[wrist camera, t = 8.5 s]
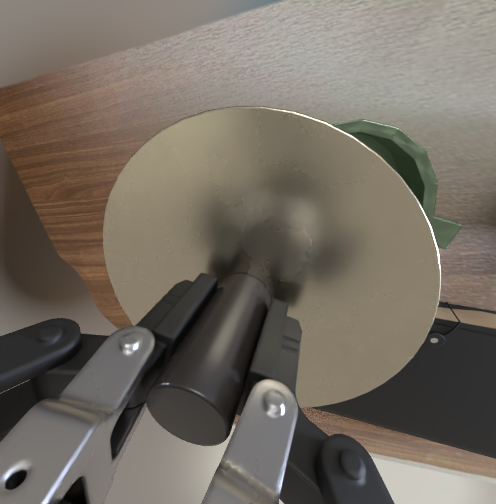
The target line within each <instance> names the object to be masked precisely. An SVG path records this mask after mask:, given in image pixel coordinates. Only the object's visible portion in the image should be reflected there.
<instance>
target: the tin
mask: <svg viewBox="0 0 496 504" xmlns="http://www.w3.org/2000/svg"><path fill="white" fill-rule="evenodd" d="M333 126H335V127H337V128H339V129H341V130H343V131H345V132H347V133H349V134H351V135H353V136H354V137H356V138H357V139H358V140H360V141H361V142H362V143H364V144H365V145H367V146H368V147H369V148H371V149H372V150H374V151H375V152H376V153H378V154H379V155H380V156H381V157H382V158H383V159H384V160H385V161H386V162H387V163H388V164H389V165H390V166H391V167H392V168H393V169H394V170H395V171H396V172H397V173H398V174H399V175H400V176H401V177H402V178H403V180H404V181H405V182H406V184H407V185H408V187H409V188H410V189H411V191H412V192H413V193H414V195H415V196H416V198H417V199H418V200H419V202H420V204H421V206H422V208H423V210H424V212H425V214H426V216H427V218H428V221H429V223H430V225H431V227H432V231H433V234H434V237H435V241H436V244H437V247H440V248H444V249H447V247H448V246H449V244H450V243H451V241H452V240H453V238H454V237H455V235H456V234H457V233H458V231H459V230H460V228H461V227H462V224H460V223H459V222H457V221H454V220H450V219H447V218H443V217H439V216H436V215H434V210H435V202H436V194H437V186H438V182H437V179H436V176H435V174H434V171H433V168H432V166H431V163H430V160H429V158H428V155H427V152H426V151H425V149H423V148H422V147H421V146H420V145H419V144H417V143H416V142H415V141H414V140H413V139H411V138H410V137H409V136H408V135H407V134H406V133H404V132H403V131H402V130H401V129H400V128H397V127H394V126H390V125H385V124H381V123H377V122H373V121H368V120H364V119H359V120H354V121H349V122H343V123H338V124H333Z"/></svg>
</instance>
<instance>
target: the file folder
mask: <svg viewBox="0 0 496 504" xmlns="http://www.w3.org/2000/svg"><path fill="white" fill-rule="evenodd" d="M312 408H315V409H319V410H322V411H326V412H330V413H333V414H337V415H341V416H344V417H348V418H351V419H355V420H359V421H362V422H366V423H369V424H373V425H377V426H380V427H384V428H387V429H391V430H395V431H398V432H402V433H405V434H409V435H413V436H416V437H420V438H423V439H427V440H431V441H434V442H438V443H441V444H445V445H449V446H452V447H456V448H459V449H463V450H467V451H470V452H474V453H477V454H481V455H485V456H488V457H492V458H495V459H496V312H494V311H488V310H482V309H476V308H470V307H464V306H458V305H452V304H448V303H447V302H445V303H441V302H439V303H438V307H437V311H436V314H435V318H434V322H433V324H432V326H431V328H430V330H429V332H428V335H427V337H426V339H425V341H424V342H423V344H422V345H421V347H420V348H419V350H418V351H417V352H416V354H415V355H414V357H413V358H412V359H411V360H410V361H409V362H408V363H407V364H406V365H405V366H404V367H403V368H402V369H401V370H400V371H399V372H398V373H397V374H395V375H394V376H393V377H391V378H390V379H389V380H388V381H386V382H385V383H383V384H381V385H380V386H378V387H376V388H374V389H373V390H371V391H369V392H367V393H365V394H362V395H360V396H357V397H355V398H353V399H349V400H346V401H342V402H339V403H335V404H330V405H324V406H318V407H312Z"/></svg>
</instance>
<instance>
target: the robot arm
mask: <svg viewBox="0 0 496 504" xmlns="http://www.w3.org/2000/svg"><path fill="white" fill-rule="evenodd" d="M218 280H219V279H218V278H217V277H214V276H211V275H208V274H205V273H200V274H199V276H198V277H197V278H196V279H195V280H194V281H193V282H192V281H189V280H187V279H186V280H184V281H181V282H179V283H177V284H175V285H174V286H173V287H172V288H171V289H170V290H169V291H168V293H167V294H165V295H164V297H163V298H162V299H161V300H160V301H159V302H158V303H157V304H156V305H155V306H154V307H153V308H152V309H151V310H150V311H149V312H148V313H147V314H146V315H145V316H144V317H143V318H142V319H141V320H140V321H139V322H138V323H137V324H136V325H135V326H128V327H124V328H121V329H119V330H117V331H115V332H114V333H112V334H111V335H110V336H102V335H91V334H81V333H80V327H79V325H78V324H77V323H76V322H75V321H72V320H70V319H65V318H57V319H50V320H47V321H43V322H41V323H38V324H35V325H32V326H29V327H26V328H23V329H20V330H17V331H15V332H12V333H9V334H6V335H3V336H0V393H1V392H3V391H5V392H3V393H1V394H0V504H104V502H105V500H106V497H107V495H108V493H109V490H110V488H111V485H112V482H113V479H114V475H115V471H116V469H117V466H118V464H119V461H120V459H121V457H122V455H123V453H124V452H125V450H126V447H127V446H128V443H129V441H130V440H131V438H132V436H133V434H134V432H135V430H136V428H137V426H138V424H139V422H140V420H141V417H142V416H143V414H144V412H145V410H146V408H147V404H146V396H147V392H148V390H149V389H150V387H151V386H152V384H153V383H154V381H155V380H156V378H157V377H158V375H159V374H160V372H161V371H162V369H163V368H164V367H165V365H166V364H167V362H168V361H169V359H170V358H171V356H172V355H173V353H174V352H175V350H176V349H177V347H178V346H179V344H180V343H181V341H182V340H183V338H184V337H185V336H186V334H187V333H188V331H189V330H190V328H191V327H192V325H193V324H194V322H195V321H196V319H197V318H198V316H199V315H200V313H201V312H202V310H203V309H204V308H205V306H206V305H207V303H208V302H209V300H210V299H211V297H212V296H213V294H214V293H215V291H216V290H217V286H218ZM288 307H289V303H287V302H284V301H281V300H278V299H275V298H273V297H272V300H271V303H270V306H269V308H268V312H267V315H266V318H265V321H264V324H263V327H262V331H261V334H260V337H259V340H258V343H257V346H256V350H255V353H254V356H253V359H252V362H251V365H250V369H249V372H248V375H247V378H246V381H245V384H244V388H243V393H242V397H241V400H240V403H239V406H238V409H237V413H236V414H237V415H240V418H239V420H238V423H237V425H236V427H235V430H234V432H233V434H232V436H231V439H230V441H229V443H228V446H227V448H226V450H225V453H224V455H223V457H222V460H221V462H220V464H219V466H218V468H217V470H216V472H215V474H214V476H213V479H212V481H211V483H210V485H209V488H208V490H207V492H206V494H205V497H204V499H203V501H202V504H279V499H280V500H281V501H282V502H283V503H284V504H394V502H393V500H392V498H391V496H390V494H389V492H388V490H387V488H386V486H385V484H384V482H383V480H382V478H381V476H380V474H379V472H378V470H377V468H376V466H375V464H374V462H373V460H372V458H371V456H370V455H369V453H368V452H367V451H366V450H365V448H364V447H363V446H362V445H361V444H360V443H359V442H357V441H356V440H355V439H353V438H351V437H349V436H347V435H344V434H334V435H331V436H328V435H327V434H326V433H324V432H323V431H322V430H321V429H319V428H318V427H317V426H316V425H314V424H313V423H312V422H311V421H310V420H309V419H308V418H307V417H306V416H305V415H304V413H303V412H302V410H301V408H300V407H299V404H298V402H297V398H296V381H297V372H298V363H299V354H300V353H299V352H300V345H301V344H300V343H301V337H302V329H301V327H300V324H299V321H298V320H296V319H294V318H291V317H288V316H287V312H288ZM29 379H30V380H29ZM27 380H29V381H27ZM25 381H27V382H25ZM23 382H25V383H23ZM21 383H22V384H21ZM18 384H20V385H18ZM16 385H18V386H16ZM14 386H16V387H14ZM12 387H14V388H12ZM10 388H12V389H10ZM8 389H10V390H8ZM6 390H8V391H6Z"/></svg>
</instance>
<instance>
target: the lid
mask: <svg viewBox="0 0 496 504" xmlns="http://www.w3.org/2000/svg"><path fill="white" fill-rule="evenodd" d="M103 249H104V256H105V263H106V267H107V271H108V275H109V278H110V281H111V284H112V286H113V289H114V292H115V294H116V296H117V298H118V300H119V302H120V304H121V306H122V308H123V310H124V311H125V313H126V315H127V316H128V318H129V319H130V321H131V322H132V324H133V325H134V326H135V325H136V324H137V323H138V322H139V321H140V320H141V319H142V318H143V317H144V316H145V315H146V314H147V313H148V312H149V311H150V310H151V309H152V308H153V307H154V306H155V305H156V304H157V303H158V302H159V301H160V300H161V299H162V298H163V297H164V295H165V294H167V293H168V291H169V290H170V289H171V288H172V287H173V286H174V285H175V284H177V283H179V282H181V281H184V280H186V279H187V280H189V281H192V282H193V281H194V280H195V279H196V278H197V277H198V276H199V274H200V273H205V274H208V275H211V276H214V277H217V278H218V279H219V280H218V286H217V290H216V291H215V293H214V294H213V296H212V297H211V299H210V300H209V302H208V303H207V305H206V306H205V308H204V309H203V310H202V312H201V313H200V315H199V316H198V318H197V319H196V321H195V322H194V324H193V325H192V327H191V328H190V330H189V331H188V333H187V334H186V336H185V337H184V338H183V340H182V341H181V343H180V344H179V346H178V347H177V349H176V350H175V352H174V353H173V355H172V356H171V358H170V359H169V361H168V362H167V364H166V365H165V367H164V368H163V369H162V371H161V372H160V374H159V375H158V377H157V378H156V380H155V381H154V383H153V384H152V386H151V387H150V389H149V390H148V392H147V396H146V404H147V407H148V410H149V412H150V413H151V415H152V416H153V418H154V419H155V420H156V421H157V422H158V423H159V424H160V425H161V426H162V427H163V428H164V429H166V430H167V431H168V432H170V433H171V434H173V435H175V436H177V437H178V438H180V439H182V440H185V441H187V442H190V443H193V444H197V445H202V446H214V445H218V444H221V443H222V442H224V441H225V440H226V438H228V436H229V434H230V431H231V429H232V425H233V422H234V419H235V416H236V413H237V409H238V406H239V403H240V400H241V397H242V393H243V388H244V384H245V381H246V378H247V375H248V372H249V369H250V365H251V362H252V359H253V356H254V353H255V350H256V346H257V343H258V340H259V337H260V334H261V331H262V327H263V324H264V321H265V318H266V315H267V312H268V308H269V306H270V303H271V300H272V297H273V298H275V299H278V300H281V301H284V302H287V303H289V307H288V312H287V316H288V317H291V318H294V319H296V320H298V321H299V324H300V327H301V329H302V337H301V343H300V344H301V345H300V352H299V353H300V354H299V363H298V372H297V381H296V398H297V402H298V404H299V407H300V408H304V407H318V406H324V405H330V404H335V403H339V402H342V401H346V400H349V399H353V398H355V397H357V396H360V395H362V394H365V393H367V392H369V391H371V390H373V389H374V388H376V387H378V386H380V385H381V384H383V383H385V382H386V381H388V380H389V379H390V378H391V377H393V376H394V375H395V374H397V373H398V372H399V371H400V370H401V369H402V368H403V367H404V366H405V365H406V364H407V363H408V362H409V361H410V360H411V359H412V358H413V357H414V355H415V354H416V352H417V351H418V350H419V348H420V347H421V345H422V344H423V342H424V341H425V339H426V337H427V335H428V332H429V330H430V328H431V326H432V324H433V322H434V318H435V314H436V311H437V307H438V303H439V298H440V285H441V269H440V260H439V251H438V248H437V244H436V241H435V237H434V234H433V231H432V227H431V225H430V223H429V221H428V218H427V216H426V214H425V212H424V210H423V208H422V206H421V204H420V202H419V200H418V199H417V198H416V196H415V195H414V193H413V192H412V191H411V189H410V188H409V187H408V185H407V184H406V182H405V181H404V180H403V178H402V177H401V176H400V175H399V174H398V173H397V172H396V171H395V170H394V169H393V168H392V167H391V166H390V165H389V164H388V163H387V162H386V161H385V160H384V159H383V158H382V157H381V156H380V155H379V154H378V153H376V152H375V151H374V150H372V149H371V148H369V147H368V146H367V145H365V144H364V143H362V142H361V141H360V140H358V139H357V138H356V137H354V136H353V135H351V134H349V133H347V132H345V131H343V130H341V129H339V128H337V127H335V126H333V125H331V124H329V123H327V122H325V121H322V120H319V119H316V118H313V117H310V116H307V115H304V114H301V113H298V112H294V111H289V110H283V109H277V108H271V107H261V106H234V107H227V108H220V109H213V110H208V111H205V112H201V113H198V114H195V115H192V116H189V117H186V118H183V119H181V120H179V121H177V122H175V123H173V124H171V125H169V126H168V127H166V128H164V129H162V130H161V131H159V132H158V133H157V134H155V135H154V136H153V137H151V138H150V139H149V140H147V141H146V142H145V143H144V144H143V145H142V146H141V147H140V148H139V149H138V150H137V151H136V152H135V153H134V154H133V155H132V156H131V157H130V158H129V160H128V161H127V163H126V164H125V166H124V167H123V169H122V170H121V172H120V173H119V175H118V177H117V179H116V181H115V183H114V185H113V187H112V190H111V192H110V195H109V199H108V202H107V206H106V209H105V216H104V223H103Z"/></svg>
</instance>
